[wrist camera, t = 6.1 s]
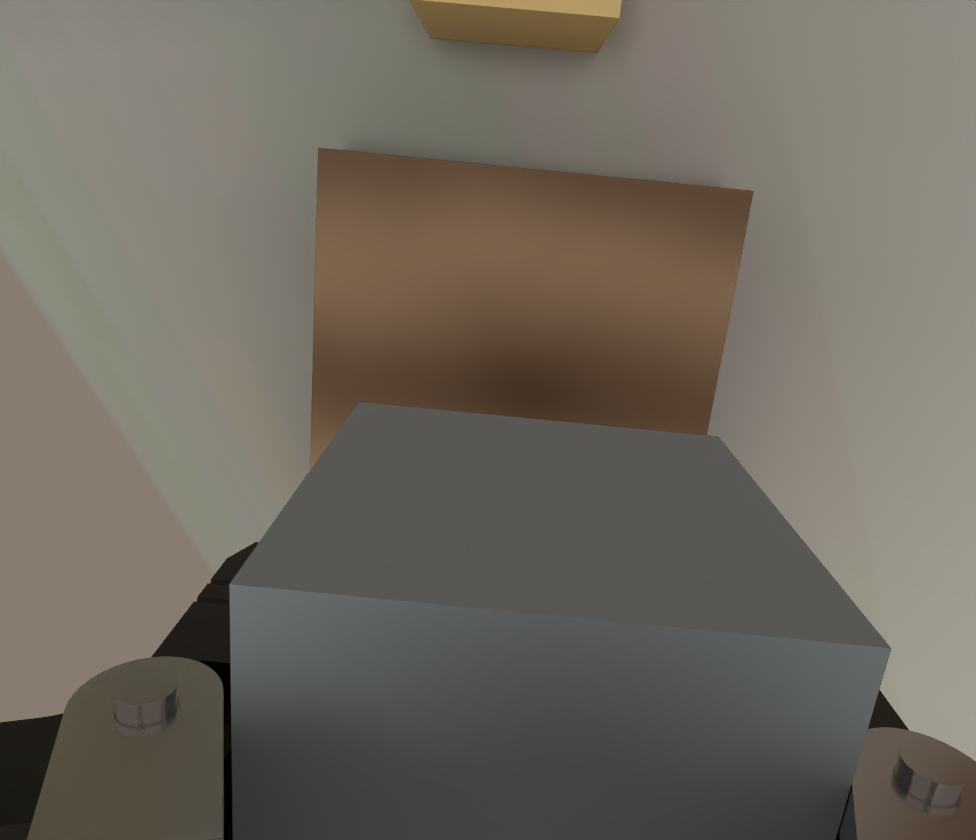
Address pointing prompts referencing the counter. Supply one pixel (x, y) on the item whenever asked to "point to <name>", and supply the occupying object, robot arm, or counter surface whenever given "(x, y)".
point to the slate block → (540, 644)
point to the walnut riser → (519, 293)
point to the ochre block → (522, 22)
